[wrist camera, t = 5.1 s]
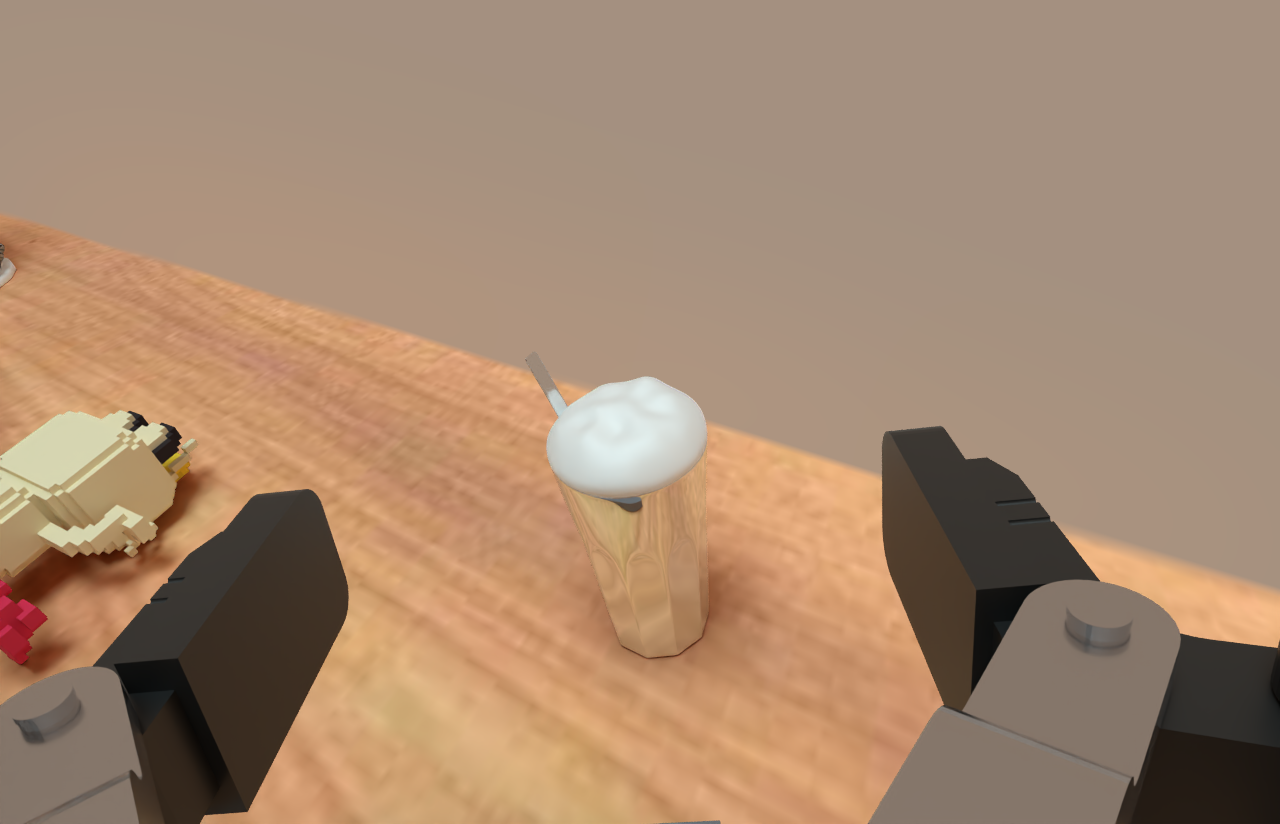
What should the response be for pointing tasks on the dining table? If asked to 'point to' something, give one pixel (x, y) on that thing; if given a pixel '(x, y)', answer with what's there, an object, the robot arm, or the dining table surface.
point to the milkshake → (637, 504)
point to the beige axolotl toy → (81, 498)
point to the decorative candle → (5, 268)
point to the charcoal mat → (703, 823)
